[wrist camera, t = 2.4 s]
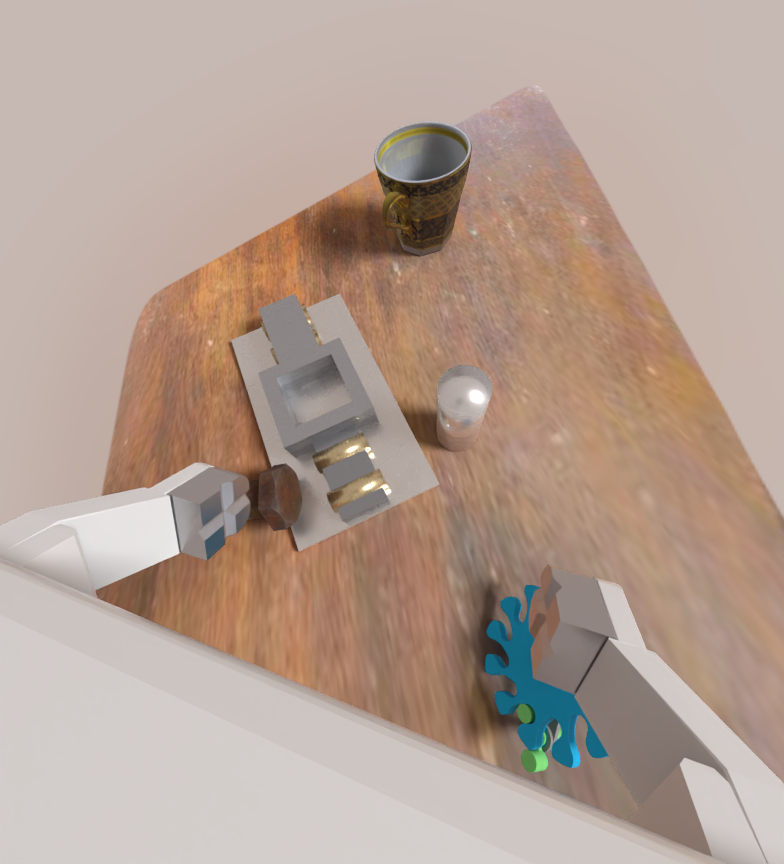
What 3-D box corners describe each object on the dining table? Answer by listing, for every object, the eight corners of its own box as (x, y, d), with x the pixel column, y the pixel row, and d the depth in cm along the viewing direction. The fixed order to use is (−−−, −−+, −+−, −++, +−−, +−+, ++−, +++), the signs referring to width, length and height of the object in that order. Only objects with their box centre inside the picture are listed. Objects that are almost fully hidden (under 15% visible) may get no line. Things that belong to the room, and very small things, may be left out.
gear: (502, 561, 28) (645, 625, 20) (542, 575, 31) (680, 635, 23) (457, 707, 26) (595, 846, 18) (505, 707, 29) (641, 826, 21)
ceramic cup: (409, 202, 48) (404, 113, 39) (477, 222, 45) (488, 131, 36) (359, 267, 44) (339, 186, 35) (428, 293, 41) (427, 213, 32)
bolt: (170, 515, 36) (307, 494, 34) (144, 560, 32) (297, 538, 30) (133, 477, 33) (283, 450, 31) (97, 522, 29) (268, 494, 27)
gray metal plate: (301, 552, 32) (285, 549, 28) (233, 343, 42) (216, 323, 38) (439, 485, 33) (440, 475, 29) (340, 297, 43) (333, 274, 39)
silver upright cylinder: (448, 458, 34) (453, 420, 25) (429, 424, 35) (428, 378, 27) (485, 441, 34) (502, 397, 26) (465, 408, 35) (475, 356, 27)
